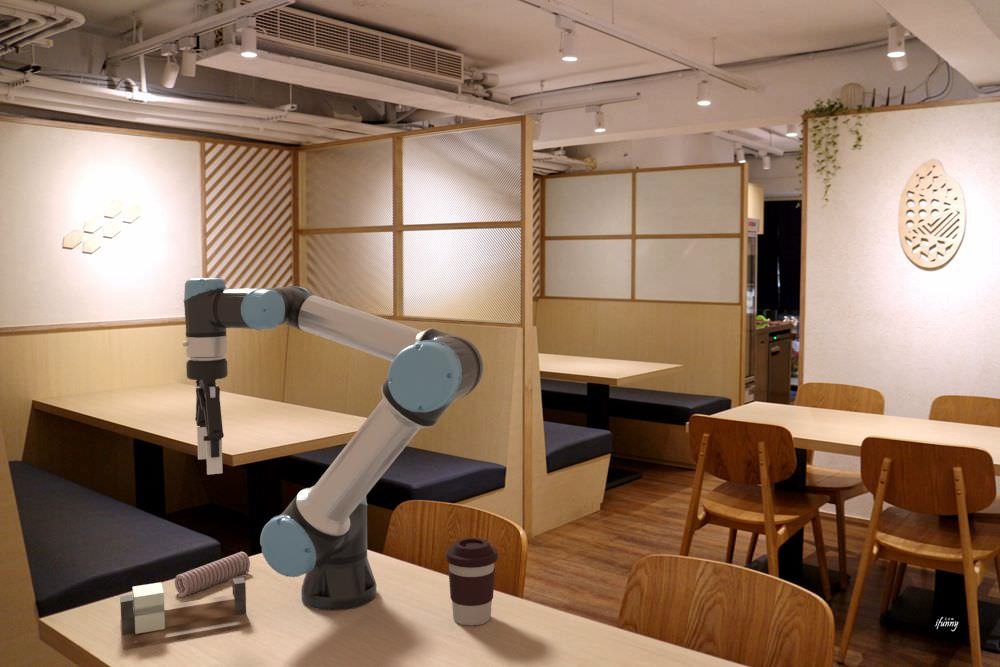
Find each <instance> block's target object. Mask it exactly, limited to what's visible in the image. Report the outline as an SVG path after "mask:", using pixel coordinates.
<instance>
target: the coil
mask: <svg viewBox="0 0 1000 667" xmlns="http://www.w3.org/2000/svg"><path fill="white" fill-rule="evenodd" d="M250 566H251V561H250V557H249V556H248V554H247V553H246V552H244V551H240V552H237V553H234V554H231V555H228V556H225V557H222V558H221V559H218V560H215V561H213V562H210V563H206V564H205V565H202V566H199V567H197V568H193V569H190V570H188V571H185V572H182V573H179V574H177V575H176V576H175V578H174V587H175V589H176V591H177V592H178V594H177V597H178V598H185V597H187V596H190V595H192V594H195V593H197V592H200V591H202V590H206V589H208V588H210V587H213V586H215V585H217V584H220V583H222V582H225V581H227V580H230V579H233V578H235V577H238V576H240V575H243V574H245V573H247V572H249V571H250Z"/></svg>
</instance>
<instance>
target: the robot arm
mask: <svg viewBox="0 0 1000 667" xmlns="http://www.w3.org/2000/svg"><path fill="white" fill-rule="evenodd" d="M183 296H184V297H183V303H184V304H183V305H184V306H183V307H184V317H185V318H184V320H185V341H183V342H182V346H183V347H184V348H185V347H186V349H185V351H186V352H185V353H186V354H185V356H186V357H187V358H188V359H187V361H186V363H185V364H186V367H185V368H186V377H187V379H189V380H193V381H195V384H196V387H195V395H196V398H195V419H194V420H195V422H196V426H197V427H196V432H197V434H196V437H197V438H196V439H197V460H206V475H208V476H209V475H216V474H217V475H219V474H223V440H222V439H223V438H224V434H225V433H224V431H223V430H224V429H223V418H222V410H221V409H222V407H221V399H220V398H221V397H220V396H221V388H220V386H219V385H217V383H216V380H221V379H225V378H227V377H228V373H229V372H228V359H227V358H225V357H226V356H228V335H227V329H230V328H231V329H245V330H246V329H250V330H257V331H261V330H273V329H276V328H278V327H279V326H287V327H290V328H294V329H296V330H299V331H300V330H301V331H303V332H306V333H308V334H312V335H314V336H318V337H319V338H320V337H321V338H323V339H326V340H329V341H331V342H334V343H338V344H341V345H343V346H346V347H348V348H352V349H354V350H357V351H361V352H364V353H366V354H369V355H371V356H375V357H378V358H381V359H383V360H386V361H389V362H391V363H390V367H389V369H388V373H387V378H386V379H385V381H384V382H383V384H382V386H381V395H382V399H381V400H380V402H379V403H378V404H377V406H375V408H374V409H373V410H372V412H371V413H370V414H369V415H368V417H367V418H366V419H365V421H364V422H363V423H362V425H361V426H360V427H359V429H358V430H357V431H356V432H355V433H354V435H353V436H352V437H351V438H350V439H349V441H348V442H347V444H346V445H345V446H344V448H342V450H341V451H340V453H339V454H338V455H337V456H336V458H334V460H333V462H332V463H331V464H330V465H329V467H328V468H327V469H326V470H325V472H324V473H323V474H322V475H321V477H320V478H319V479H318V481H317V482H316V483H315V484H314V485H313V486H311V487H306V488H303V489H302V490H300V491H299V492H298V493H297V495H295V497H294V498H293V500H292V501H291V502H290V503H289V504H288V506H287V507H286V508H285V510H284V511H283V512H282V513H281V514H279V515H275V516H274V517H272V518H271V519H270V520H269V521H268V522H266V524H264V526H263V528H262V531H261V533H260V539H259V541H260V542H259V544H260V547H261V553H262V555H263V558H264V560H265V561H266V563H267V564H268V565H269V567H270V568H271V569H272V570H273V571H275V572H276V573H278V574H280V575H281V576H283V577H290V578H297V577H300V576H303V575H304V579H303V582H302V584H301V585H302V586H301V596H300V597H301V602H302V603H303V604H304V605H305V606H307V607H310V608H312V609H315V610H322V611H343V610H350V609H355V608H358V607H362V606H365V605H366V604H368V603H370V602H372V601H373V600H374V599H375V598H376V597H377V582H376V579H375V577H374V576H375V575H374V573H373V570H372V568H371V564H370V562H369V559H368V503H367V496H368V494H369V493H370V491H371V490H372V488H373V487H374V486H375V485H376V483H378V481H379V480H380V479H381V477H382V476H383V475H384V474H385V473H386V471H387V470H388V469H389V468H390V466H391V465H392V464H393V463H394V462H395V461H396V459H397V458H398V456H400V454H401V453H402V452H403V451H404V449H405V448H406V447H407V445H409V443H410V442H411V440H413V438H414V437H415V436H416V435H417V433H418V432H419V430H421V429H429V428H433V426H435V425H436V424H437V422H438V421H439V419H440V418H441V417H442V416H443V415H444V414H445V412H446V411H447V409H449V408H450V406H451V405H452V404H453V403H454V402H455V401H456V400H460V399H461V398H463V397H465V396H468V395H469V394H471V393H472V392H473V391H475V389H476V388H477V387H478V386H479V384H480V382H481V380H482V379H483V374H484V361H483V357H482V355H481V354H482V353H481V352H480V351H479V349H478V348H477V346H476V345H475V344H474V343H472V342H471V341H470V340H468V339H467V338H465V337H462V336H458V335H454V334H452V333H447V332H444V331H442V330H441V331H440V330H438V329H434V328H431V327H430V328H429V327H428V328H427V329H425V330H421V329H417V328H415V327H413V326H412V327H411V326H408V325H406V324H402V323H399V322H397V321H393V320H391V319H388V318H384V317H381V316H378V315H374V314H372V313H369V312H367V311H363V310H360V309H357V308H354V307H351V306H348V305H344V304H341V303H339V302H336V301H333V300H330V299H327V298H324V297H320V296H318V295H315V294H313V293H311V291H310V290H308V289H307V288H305V287H302V286H301V287H300V286H295V285H294V286H293V285H291V286H289V285H288V286H282V287H268V288H267V287H264V288H233V289H232V288H227V286H226V281H225V280H224V279H223V278H217V277H213V278H211V277H209V278H208V277H203V278H202V277H201V278H200V277H199V278H197V277H196V278H195V277H194V278H189V279H186V281H185V283H184V295H183Z"/></svg>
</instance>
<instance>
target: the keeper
mask: <svg viewBox="0 0 1000 667" xmlns="http://www.w3.org/2000/svg"><path fill="white" fill-rule="evenodd" d="M164 593H165V592H164V588H163V584H162V582H161V581H160V582H154V583H148V584H142V585H141V584H140V585H136V586H135V585H134V586H132V598H133V611H134V614H135V634H139V633H145V632H150V631H156V630H162V629H165V615H164V606H165V594H164Z"/></svg>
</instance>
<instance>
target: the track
mask: <svg viewBox="0 0 1000 667" xmlns="http://www.w3.org/2000/svg"><path fill="white" fill-rule="evenodd" d="M231 579H232V581H231V584H232V594H227V595H221V596H214V597H208V598H203V599H196V600H191V601H185V602H178V603H173V604H172V603H171V604H166V605H165V604H164V615H165V629H162V630H156V631H150V632H145V633H139V634H135V614H134V611H133V594H128V595H121V596H119V599H120V601H119V603H120V622H119V624H120V632H121V640H122V649H123V650H127V649H134V648H139V647H145V646H149V645H156V644H161V643H165V642H166V643H167V642H171V641H178V640H183V639H189V638H194V637H200V636H204V635H212V634H215V633H217V634H218V633H223V632H227V631H233V630H238V629H244V628H250V627H251V620H250V618H249V617H248V614H247V592H246V591H247V588H246V587H247V585H246V581H245V579H244V576H243V577H236V578H235V577H234V578H231Z"/></svg>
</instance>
